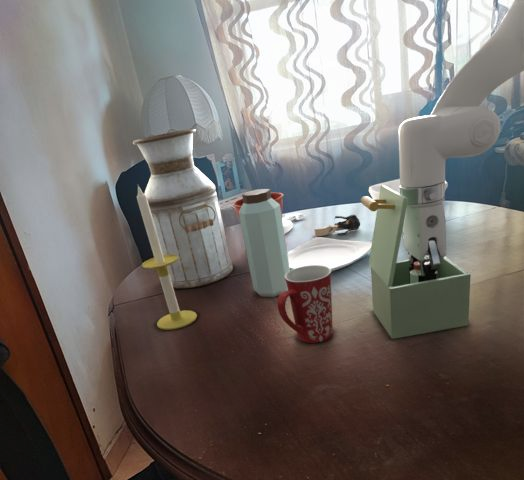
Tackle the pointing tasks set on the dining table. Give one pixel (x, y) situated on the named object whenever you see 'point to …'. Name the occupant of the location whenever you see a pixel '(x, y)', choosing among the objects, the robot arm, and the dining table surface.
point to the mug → (308, 302)
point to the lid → (386, 231)
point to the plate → (327, 253)
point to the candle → (163, 272)
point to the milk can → (185, 211)
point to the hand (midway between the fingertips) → (422, 288)
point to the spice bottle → (416, 272)
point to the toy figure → (339, 226)
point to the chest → (422, 300)
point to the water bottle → (264, 242)
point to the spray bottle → (289, 221)
